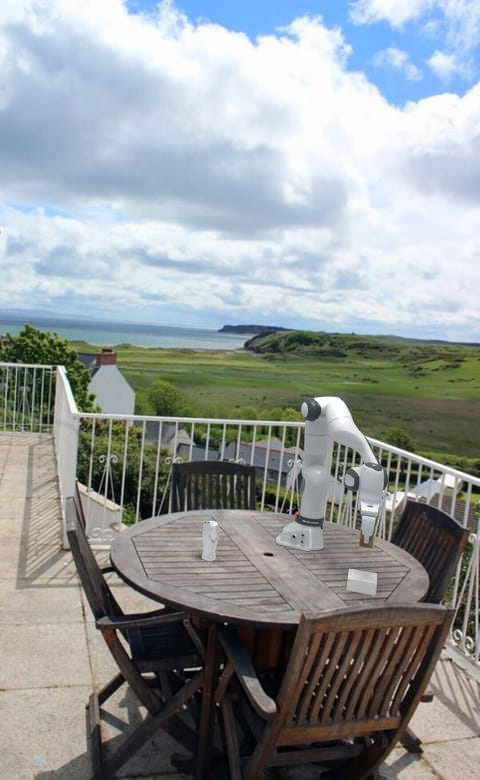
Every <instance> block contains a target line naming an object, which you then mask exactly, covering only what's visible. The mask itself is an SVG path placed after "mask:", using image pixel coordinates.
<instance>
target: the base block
mask: <svg viewBox="0 0 480 780" xmlns="http://www.w3.org/2000/svg"><path fill="white" fill-rule="evenodd" d="M377 587H378V573H376V572H371V571H365V570H360V569H356V568H355V569H354V568H349V569H348V575H347V581H346V591H348V592H353V593H359V594H363V595H367V596H376V595H377Z"/></svg>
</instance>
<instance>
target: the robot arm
mask: <svg viewBox="0 0 480 780" xmlns="http://www.w3.org/2000/svg"><path fill="white" fill-rule="evenodd" d="M300 413H301V416H302V418H303V419H304V420H305V423H304V425H305V426H304V440H303V441H304V445H303V449H304V450H303V456H302V466H301V476H302V478H303V479H304V481H305V482H304V483H305V484H304V489H303V493H302V496H301V498H300V499H301V500H300V510H299V511H296V512H295V514H294V515H295V517H294V521H292V522H290V523H288V524H286V525H285V526H284V527H283V529H282V530H281V534H279V535H277V536H276V539H275V543H276V544H277V545H278V546H283V547H287V548H291V549H296V550H299V551H303V552H311V551H317V550H318V551H319V550H323V549H324V548H325V546H324V545H325V544H324V537H323V536H324V535H323V534H324V533H323V532H324V531H323V529H324V526H325V517H324V516H325V515H324V514H325V507H326V506H325V505H326V501H327V499H326V498H327V495H328V492H329V488H330V485H331V483H332V476H331V472H330V471H329V470H328V468H326V461H327V456H328V452H329V435H330V437H331V439H332V440H333V441H334V442H336V443H337V444H339V445H342V446H345V447H348V448H350V449H352V450H354V451H356V452H357V453H358V454H359V455H360V458H361V459H362V461H363V464H362V465H360V466H355V467H350V468H348V469H346V471H345V473H344V475H343V476H344V477H343V482H344V486H345V487H346V488H347V489H348V491H350V492H351V491H352V492H358V493H359V495H358V501H357V502H358V503H357V509H358V510H359V513H360V515H361V530H362V534H363V535H364V543H367V544H368V543H369V537H370V536H372V534H373V532H374V530H375V526H376V525H375V524H376V519H377V517H379V514H380V513H381V512H382V505H383V504H382V503H383V495H382V493H383V491H385V490H386V488H387V487H388V485H389V481H390V480H389V478H390V477H389V475H388V472H387V470H386V469H385V468H384V466H382V464H381V463H380V460H379V459H378V457H377V455H376V452H375V451H374V449H373V447H372V445H371V444H370V441H369V440H368V437H366V435H365V434H363V433H362V432H361V431H360V430H359V428H358V427H357V425H356V424H355V422H354V420H353V417H352V413H351V412H350V404H349V401H348V400H347V399H346V398H345V397H343V396H320V397H318V396H317V397H309V398H306V399H304V400H303V401H302V404H301V407H300Z"/></svg>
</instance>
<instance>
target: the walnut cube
mask: <svg viewBox="0 0 480 780" xmlns="http://www.w3.org/2000/svg"><path fill="white" fill-rule="evenodd" d="M359 532H360V534H359V545H358V546H359V547H361V548H362V547H363V548H368V549H369V548H370V549H373V547H374V536H375V535H374V534H375V533H374V531H373V534H372V536H370V537H369V543H368V544H367V543H364V535H363V534H362V529H360V531H359Z"/></svg>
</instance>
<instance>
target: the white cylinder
mask: <svg viewBox="0 0 480 780" xmlns="http://www.w3.org/2000/svg"><path fill="white" fill-rule="evenodd" d="M201 533H202V535H201V536H202V553H201V560H203V561H207V562H212V561H215V560H216V558H217V556H216V555H217V553H216V549H217V545H218V541H219V538H220V522H218V521H214V520H206V521H203V527H202V532H201Z"/></svg>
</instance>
